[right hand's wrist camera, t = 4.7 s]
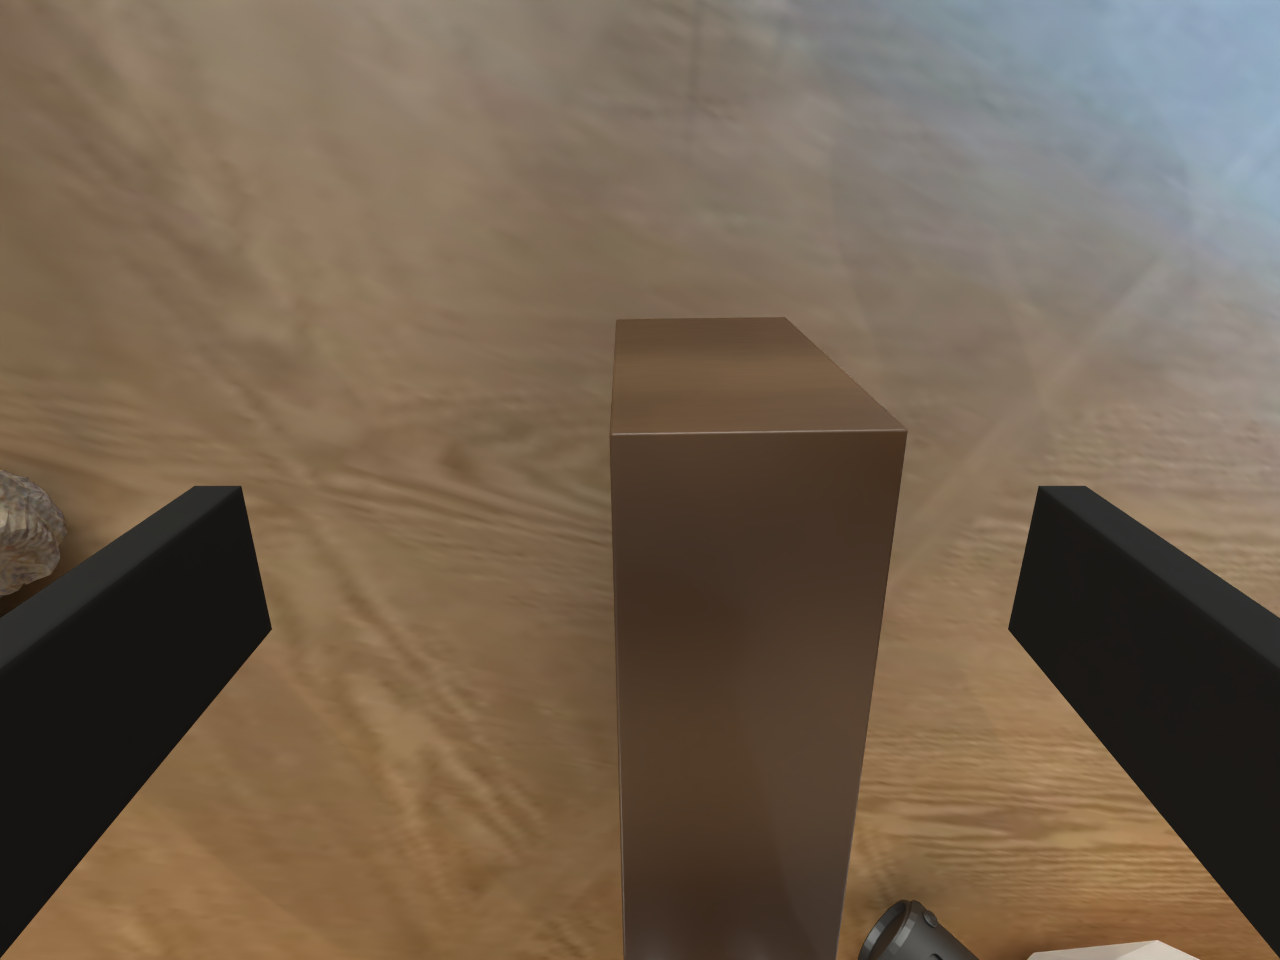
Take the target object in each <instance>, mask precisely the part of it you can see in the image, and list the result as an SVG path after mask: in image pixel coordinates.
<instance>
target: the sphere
mask: <svg viewBox="0 0 1280 960" xmlns="http://www.w3.org/2000/svg"><path fill="white" fill-rule="evenodd" d="M858 960H979V959H978V958H977V957H976V956H975V955H974V954H972V953H971V952H970V951H969V950H968V949H967V948H966V947H965V946H964V945H963V944H961V943H960V942H959V941H958V940H957V939H956V938H955V937H954V936H953V935H951V934H950V933H949V932H948V931H947V930H946V929H945V928H944V927H943V926H942V925H940V924H939V923H938V921H937V919H936V917H935V915H934V914H933V913H932V912H931V911H928V910H926V909H925V908H924V906H923V905H922V904H921V903H920V902H918V901H915V900H912V901H911V902H909V901H907V900H901V901H899V902H897V903H895V904H894V905H893V906H891V907H890V908H889V909H888V910H887V911H886V912H885V913H884V914H883V915H882V917H881V918H880V919H879V920H878V921H877V923H876V924H875V925H874V927H873V928H872V930H871V931H870V933H869V935H868V936H867V938H866V940H865V942H864V944H863V946H862V948H861V950H860V953H859V956H858ZM1027 960H1199V959H1197V958H1195V957H1193V956H1191V955H1189V954H1186V953H1184V952H1182V951H1180V950H1178V949H1176V948H1174V947H1171V946H1169V945H1167V944H1165V943H1163V942H1161V941H1158V940H1154V941H1144V942H1134V943H1124V944H1114V945H1104V946H1094V947H1085V948H1075V949H1065V950H1055V951H1045V952H1035V953H1033V954H1032V955H1031V956H1030V957H1029V958H1028V959H1027Z"/></svg>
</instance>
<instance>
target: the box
mask: <svg viewBox="0 0 1280 960" xmlns="http://www.w3.org/2000/svg"><path fill="white" fill-rule="evenodd" d="M906 438H907V429H906V428H905V427H904V426H903V425H902V424H901V423H900V422H899V421H898V420H896V419H895V418H894V417H893V416H892V415H891V414H890V413H889V412H888V411H887V410H886V409H884V408H883V407H882V406H881V405H880V404H879V403H878V402H877V401H876V400H875V399H874V398H872V397H871V396H870V395H869V394H868V393H867V392H866V391H865V390H864V389H863V388H862V387H860V386H859V385H858V384H857V383H856V382H855V381H854V380H853V379H852V378H851V377H850V376H848V375H847V374H846V373H845V372H844V371H843V370H842V369H841V368H840V367H839V366H838V365H836V364H835V363H834V362H833V361H832V360H831V359H830V358H829V357H828V356H827V355H826V354H824V353H823V352H822V351H821V350H820V349H819V348H818V347H817V346H816V345H815V344H814V343H812V342H811V341H810V340H809V339H808V338H807V337H806V336H805V335H804V334H803V333H802V332H800V331H799V330H798V329H797V328H796V327H795V326H794V325H793V324H792V323H791V322H790V321H788V320H787V319H786V318H785V317H770V318H694V319H618V320H617V321H616V334H615V352H614V369H613V387H612V404H611V422H610V466H611V503H612V541H613V578H614V616H615V654H616V691H617V729H618V766H619V804H620V841H621V879H622V917H623V954H624V960H836V956H837V948H838V941H839V934H840V926H841V919H842V911H843V904H844V897H845V889H846V882H847V875H848V867H849V860H850V852H851V845H852V838H853V830H854V823H855V815H856V808H857V801H858V793H859V786H860V778H861V771H862V764H863V756H864V749H865V741H866V734H867V727H868V719H869V712H870V704H871V697H872V690H873V682H874V675H875V668H876V660H877V653H878V645H879V638H880V631H881V623H882V616H883V608H884V601H885V594H886V586H887V579H888V571H889V564H890V557H891V549H892V542H893V534H894V527H895V520H896V512H897V505H898V497H899V490H900V483H901V475H902V468H903V461H904V453H905V446H906Z"/></svg>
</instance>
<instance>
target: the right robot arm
mask: <svg viewBox="0 0 1280 960" xmlns="http://www.w3.org/2000/svg"><path fill="white" fill-rule="evenodd" d="M271 630H272V628H271V623H270V618H269V614H268V609H267V604H266V600H265V595H264V590H263V586H262V581H261V576H260V572H259V567H258V562H257V558H256V553H255V548H254V543H253V539H252V534H251V529H250V525H249V520H248V515H247V511H246V506H245V501H244V497H243V492H242V487H241V486H194V487H193V488H191V489H190V490H188V491H187V492H185V493H184V494H182V495H181V496H179V497H178V498H176V499H175V500H173V501H172V502H170V503H169V504H167V505H166V506H165V507H163V508H162V509H160V510H159V511H157V512H156V513H154V514H153V515H151V516H150V517H148V518H147V519H145V520H144V521H142V522H141V523H140V524H138V525H137V526H135V527H134V528H132V529H131V530H129V531H128V532H126V533H125V534H123V535H122V536H120V537H119V538H117V539H116V540H114V541H113V542H112V543H110V544H109V545H107V546H106V547H104V548H103V549H101V550H100V551H98V552H97V553H95V554H94V555H92V556H91V557H89V558H88V559H87V560H85V561H84V562H82V563H81V564H79V565H78V566H76V567H75V568H73V569H72V570H70V571H69V572H67V573H66V574H64V575H63V576H62V577H60V578H59V579H57V580H56V581H54V582H53V583H51V584H50V585H48V586H47V587H45V588H44V589H42V590H41V591H39V592H38V593H36V594H35V595H34V596H32V597H31V598H29V599H28V600H26V601H25V602H23V603H22V604H20V605H19V606H17V607H16V608H14V609H13V610H11V611H10V612H9V613H7V614H6V615H4V616H3V617H1V618H0V958H1V957H2V955H3V954H4V953H5V952H6V951H7V949H8V948H9V947H10V946H11V945H12V943H13V942H14V941H15V940H16V938H17V937H18V936H19V935H20V934H21V932H22V931H23V930H24V929H25V928H26V926H27V925H28V924H29V923H30V922H31V920H32V919H33V918H34V917H35V915H36V914H37V913H38V912H39V911H40V909H41V908H42V907H43V906H44V905H45V903H46V902H47V901H48V900H49V898H50V897H51V896H52V895H53V894H54V892H55V891H56V890H57V889H58V888H59V886H60V885H61V884H62V883H63V882H64V880H65V879H66V878H67V877H68V875H69V874H70V873H71V872H72V871H73V869H74V868H75V867H76V866H77V865H78V863H79V862H80V861H81V860H82V859H83V857H84V856H85V855H86V854H87V852H88V851H89V850H90V849H91V848H92V846H93V845H94V844H95V843H96V842H97V840H98V839H99V838H100V837H101V836H102V834H103V833H104V832H105V831H106V829H107V828H108V827H109V826H110V825H111V823H112V822H113V821H114V820H115V819H116V817H117V816H118V815H119V814H120V813H121V811H122V810H123V809H124V808H125V806H126V805H127V804H128V803H129V802H130V800H131V799H132V798H133V797H134V796H135V794H136V793H137V792H138V791H139V790H140V788H141V787H142V786H143V785H144V783H145V782H146V781H147V780H148V779H149V777H150V776H151V775H152V774H153V773H154V771H155V770H156V769H157V768H158V767H159V765H160V764H161V763H162V762H163V760H164V759H165V758H166V757H167V756H168V754H169V753H170V752H171V751H172V750H173V748H174V747H175V746H176V745H177V744H178V742H179V741H180V740H181V739H182V737H183V736H184V735H185V734H186V733H187V731H188V730H189V729H190V728H191V727H192V725H193V724H194V723H195V722H196V720H197V719H198V718H199V717H200V716H201V714H202V713H203V712H204V711H205V710H206V708H207V707H208V706H209V705H210V704H211V702H212V701H213V700H214V699H215V697H216V696H217V695H218V694H219V693H220V691H221V690H222V689H223V688H224V687H225V685H226V684H227V683H228V682H229V681H230V679H231V678H232V677H233V676H234V674H235V673H236V672H237V671H238V670H239V668H240V667H241V666H242V665H243V664H244V662H245V661H246V660H247V659H248V658H249V656H250V655H251V654H252V653H253V651H254V650H255V649H256V648H257V647H258V645H259V644H260V643H261V642H262V641H263V639H264V638H265V637H266V636H267V635H268V633H269V632H270V631H271ZM1008 630H1009V631H1010V632H1011V633H1012V635H1013V636H1014V637H1015V638H1016V639H1017V641H1018V642H1019V643H1020V644H1021V645H1022V647H1023V648H1024V649H1025V650H1026V651H1027V653H1028V654H1029V655H1030V656H1031V658H1032V659H1033V660H1034V661H1035V662H1036V664H1037V665H1038V666H1039V667H1040V668H1041V670H1042V671H1043V672H1044V673H1045V674H1046V676H1047V677H1048V678H1049V679H1050V681H1051V682H1052V683H1053V684H1054V685H1055V687H1056V688H1057V689H1058V690H1059V691H1060V693H1061V694H1062V695H1063V696H1064V697H1065V699H1066V700H1067V701H1068V702H1069V704H1070V705H1071V706H1072V707H1073V708H1074V710H1075V711H1076V712H1077V713H1078V714H1079V716H1080V717H1081V718H1082V719H1083V720H1084V722H1085V723H1086V724H1087V725H1088V727H1089V728H1090V729H1091V730H1092V731H1093V733H1094V734H1095V735H1096V736H1097V737H1098V739H1099V740H1100V741H1101V742H1102V744H1103V745H1104V746H1105V747H1106V748H1107V750H1108V751H1109V752H1110V753H1111V754H1112V756H1113V757H1114V758H1115V759H1116V760H1117V762H1118V763H1119V764H1120V765H1121V767H1122V768H1123V769H1124V770H1125V771H1126V773H1127V774H1128V775H1129V776H1130V777H1131V779H1132V780H1133V781H1134V782H1135V783H1136V785H1137V786H1138V787H1139V788H1140V790H1141V791H1142V792H1143V793H1144V794H1145V796H1146V797H1147V798H1148V799H1149V800H1150V802H1151V803H1152V804H1153V805H1154V806H1155V808H1156V809H1157V810H1158V811H1159V813H1160V814H1161V815H1162V816H1163V817H1164V819H1165V820H1166V821H1167V822H1168V823H1169V825H1170V826H1171V827H1172V828H1173V829H1174V831H1175V832H1176V833H1177V834H1178V836H1179V837H1180V838H1181V839H1182V840H1183V842H1184V843H1185V844H1186V845H1187V846H1188V848H1189V849H1190V850H1191V851H1192V852H1193V854H1194V855H1195V856H1196V857H1197V859H1198V860H1199V861H1200V862H1201V863H1202V865H1203V866H1204V867H1205V868H1206V869H1207V871H1208V872H1209V873H1210V874H1211V875H1212V877H1213V878H1214V879H1215V880H1216V882H1217V883H1218V884H1219V885H1220V886H1221V888H1222V889H1223V890H1224V891H1225V892H1226V894H1227V895H1228V896H1229V897H1230V898H1231V900H1232V901H1233V902H1234V903H1235V905H1236V906H1237V907H1238V908H1239V909H1240V911H1241V912H1242V913H1243V914H1244V915H1245V917H1246V918H1247V919H1248V920H1249V922H1250V923H1251V924H1252V925H1253V926H1254V928H1255V929H1256V930H1257V931H1258V932H1259V934H1260V935H1261V936H1262V937H1263V938H1264V940H1265V941H1266V942H1267V943H1268V945H1269V946H1270V947H1271V948H1272V949H1273V951H1274V952H1275V953H1276V954H1277V955H1278V957H1279V958H1280V618H1279V617H1277V616H1276V615H1274V614H1273V613H1271V612H1270V611H1269V610H1267V609H1266V608H1264V607H1263V606H1261V605H1260V604H1258V603H1257V602H1255V601H1254V600H1252V599H1251V598H1249V597H1248V596H1246V595H1245V594H1244V593H1242V592H1241V591H1239V590H1238V589H1236V588H1235V587H1233V586H1232V585H1230V584H1229V583H1227V582H1226V581H1224V580H1223V579H1221V578H1220V577H1218V576H1217V575H1216V574H1214V573H1213V572H1211V571H1210V570H1208V569H1207V568H1205V567H1204V566H1202V565H1201V564H1199V563H1198V562H1196V561H1195V560H1193V559H1192V558H1191V557H1189V556H1188V555H1186V554H1185V553H1183V552H1182V551H1180V550H1179V549H1177V548H1176V547H1174V546H1173V545H1171V544H1170V543H1168V542H1167V541H1166V540H1164V539H1163V538H1161V537H1160V536H1158V535H1157V534H1155V533H1154V532H1152V531H1151V530H1149V529H1148V528H1146V527H1145V526H1143V525H1142V524H1140V523H1139V522H1138V521H1136V520H1135V519H1133V518H1132V517H1130V516H1129V515H1127V514H1126V513H1124V512H1123V511H1121V510H1120V509H1118V508H1117V507H1115V506H1114V505H1113V504H1111V503H1110V502H1108V501H1107V500H1105V499H1104V498H1102V497H1101V496H1099V495H1098V494H1096V493H1095V492H1093V491H1092V490H1090V489H1089V488H1087V487H1086V486H1039V487H1038V492H1037V497H1036V501H1035V506H1034V511H1033V515H1032V520H1031V525H1030V529H1029V534H1028V539H1027V543H1026V548H1025V553H1024V558H1023V562H1022V567H1021V572H1020V576H1019V581H1018V586H1017V590H1016V595H1015V600H1014V604H1013V609H1012V614H1011V618H1010V623H1009V628H1008Z"/></svg>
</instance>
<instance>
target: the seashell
mask: <svg viewBox="0 0 1280 960" xmlns="http://www.w3.org/2000/svg"><path fill="white" fill-rule="evenodd" d="M67 534H68V532H67V529H66V525H65V519H64V516H63V513H62V511H61V510H60V509H59V508H58V507H57V506H56V505H55V504H54V503H53V502H52V500H51V499H50V498H49V496H48V495H47V494H46V492H45V491H43V490H42V489H41V488H40V487H39V486H38V485H36V484H35V483H34V482H31V481H30V479H29V478H28V477H21V476H17V475H13V474H10V473H9V472H7V471H5V470H0V598H1V597H2V596H4V595H8V594H11V593H14V592H16V591H18V590H19V589H20V588H21V587H22V585H23V584H27V585H28V584H29V583H31V582H33V581H35V580H38V579H41V578H43V577H46V576H49V575H51V574H52V572H53V571H54V569H55V568H56V566H57V565H58V562H59V560H60V552H59V547H58V546H59V545H60V543H61V542H62V541H63V539H64V538H65V536H66V535H67Z"/></svg>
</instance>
